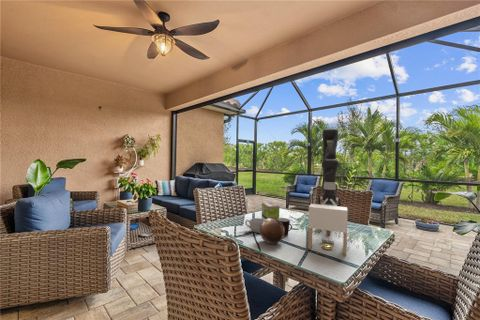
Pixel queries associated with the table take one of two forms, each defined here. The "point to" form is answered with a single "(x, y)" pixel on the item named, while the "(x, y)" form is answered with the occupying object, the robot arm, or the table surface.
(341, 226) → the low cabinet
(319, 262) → the table surface
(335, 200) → the robot arm
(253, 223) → the teacup
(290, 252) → the table surface
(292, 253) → the table surface
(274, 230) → the wooden sphere
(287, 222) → the coffee mug
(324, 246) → the brass puck
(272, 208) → the tea box
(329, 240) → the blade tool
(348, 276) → the table surface
